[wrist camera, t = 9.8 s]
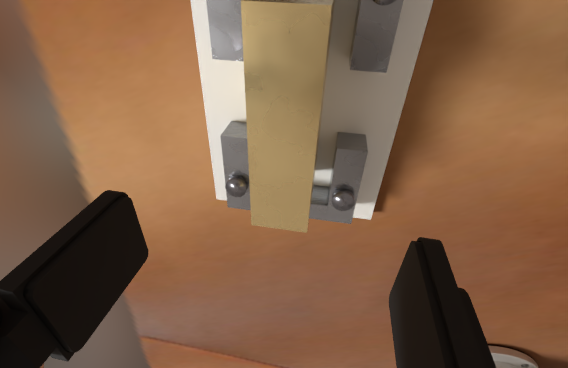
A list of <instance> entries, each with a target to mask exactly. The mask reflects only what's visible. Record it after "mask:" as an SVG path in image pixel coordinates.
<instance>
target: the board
mask: <svg viewBox="0 0 568 368" xmlns="http://www.w3.org/2000/svg"><path fill="white" fill-rule="evenodd" d="M432 4H433V0H404V1H403V5H402V9H401V13H400V18H399V22H398V26H397V30H396V35H395V39H394V43H393V47H392V52H391V56H390V60H389V65H388V69H387V73H381V72H368V71H356V70H350V65H349V57H350V50H351V44H352V38H353V31H354V25H355V19H356V12H357V6H358V0H335V4H334V13H333V21H332V30H331V39H330V48H329V57H328V65H327V74H326V83H325V92H324V101H323V109H322V118H321V127H320V136H319V144H318V153H317V162H316V171H315V178H314V185H320V186H328V187H329V184H330V178H331V172H332V165H333V159H334V152H335V146H336V140H337V133H338V132H346V133H355V134H365V135H366V140H367V148H368V154H367V158H366V163H365V167H364V171H363V175H362V180H361V184H360V188H359V192H358V197H357V201H356V205H355V209H354V214H353V217H354V218H362V219H369V220H371V217H372V214H373V210H374V207H375V203H376V200H377V196H378V193H379V189H380V186H381V182H382V179H383V175H384V172H385V168H386V165H387V161H388V158H389V154H390V151H391V147H392V144H393V140H394V137H395V133H396V130H397V126H398V123H399V119H400V116H401V112H402V109H403V105H404V102H405V98H406V95H407V91H408V88H409V84H410V81H411V77H412V74H413V70H414V67H415V63H416V60H417V56H418V53H419V49H420V46H421V42H422V39H423V35H424V32H425V28H426V25H427V21H428V18H429V14H430V11H431V7H432ZM191 7H192V15H193V23H194V30H195V38H196V45H197V53H198V61H199V68H200V76H201V84H202V91H203V99H204V106H205V114H206V122H207V129H208V137H209V145H210V152H211V160H212V167H213V175H214V183H215V190H216V198H217V199H220V200H227V195H226V189H225V175H224V166H223V156H222V147H221V137H220V135H221V134H222V133H223V131H224V130H225V129H226V127H227V126H228V125H229V123H230V122H231V121H239V122H246V101H245V80H244V62H243V61H230V60H218V59H212V51H211V41H210V32H209V22H208V13H207V3H206V0H191Z"/></svg>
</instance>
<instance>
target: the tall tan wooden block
mask: <svg viewBox="0 0 568 368" xmlns="http://www.w3.org/2000/svg"><path fill="white" fill-rule="evenodd" d="M334 4H335V0H241V17H242V38H243V59H244V80H245V101H246V122H247V142H248V163H249V184H250V205H251V225H256V226H263V227H270V228H277V229H284V230H292V231H299V232H306V233H307V229H308V221H309V214H310V207H311V200H312V192H313V185H314V178H315V171H316V162H317V153H318V144H319V136H320V127H321V118H322V109H323V101H324V92H325V83H326V74H327V65H328V57H329V48H330V39H331V30H332V21H333V13H334Z"/></svg>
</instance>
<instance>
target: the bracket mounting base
mask: <svg viewBox="0 0 568 368" xmlns="http://www.w3.org/2000/svg"><path fill="white" fill-rule="evenodd" d="M403 1H404V0H358V6H357V12H356V19H355V25H354V31H353V38H352V44H351V50H350V57H349V65H350V70H356V71H368V72H381V73H387V69H388V65H389V60H390V56H391V52H392V47H393V43H394V39H395V35H396V30H397V26H398V22H399V18H400V13H401V9H402V5H403ZM206 3H207V13H208V22H209V32H210V41H211V51H212V59H218V60H230V61H243V62H244V59H243V38H242V17H241V0H206ZM220 137H221V147H222V156H223V166H224V175H225V189H226V195H227V204H228V207H231V208H238V209H245V210H251V205H250V184H249V163H248V142H247V122H239V121H231V122H230V123H229V125H228V126H227V127H226V129H225V130H224V131H223V133H222V134H221V135H220ZM367 154H368V148H367V140H366V135H365V134H355V133H346V132H338V133H337V140H336V146H335V152H334V159H333V165H332V172H331V178H330V184H329V187H328V186H320V185H313V192H312V200H311V207H310V214H309V218H312V219H319V220H326V221H334V222H341V223H348V224H351V222H352V218H353V214H354V209H355V205H356V201H357V197H358V192H359V188H360V184H361V180H362V175H363V171H364V167H365V163H366V158H367Z"/></svg>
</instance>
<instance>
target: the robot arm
mask: <svg viewBox="0 0 568 368" xmlns="http://www.w3.org/2000/svg"><path fill="white" fill-rule="evenodd" d="M147 257H148V248H147V245H146V242H145V239H144V236H143V233H142V230H141V227H140V224H139V221H138V218H137V215H136V212H135V208H134V205H133V202H132V200H131V198H129V197H128V195H127V194H126V193H124V192H118V191H111V190H107V191H105V192H103V193H102V194H101V195H100V196H99V197H97V198H96V199H95V200H94V201H93V202H92V203H90V204H89V205H88V206H87V207H86V208H85V209H83V210H82V211H81V212H80V213H79V214H78V215H77V216H75V217H74V218H73V219H72V220H71V221H70V222H68V223H67V224H66V225H65V226H64V227H63V228H61V229H60V230H59V231H58V232H57V233H56V234H54V235H53V236H52V237H51V238H50V239H49V240H47V241H46V242H45V243H44V244H43V245H42V246H40V247H39V248H38V249H37V250H36V251H35V252H33V253H32V254H31V255H30V256H29V257H28V258H26V259H25V260H24V261H23V262H22V263H21V264H20V265H18V266H17V267H16V268H15V269H14V270H12V271H11V272H10V273H9V274H8V275H7V276H5V277H4V278H3V279H2V280H1V281H0V368H43V367H44V362H45V361H46V360H47V358H48V357H49V356H51V357H52V358H55V359H59V360H64V361H69V360H70V358H71V357H72V356H73V354H74V353H75V352H77V351H79V350H80V349H81V348H82V347H83V346H84V345H85V343H86V342H87V341H88V339H89V338H90V336H91V335H92V334H93V332H94V331H95V330H96V328H97V327H98V325H99V324H100V323H101V321H102V320H103V319H104V317H105V316H106V315H107V313H108V312H109V311H110V309H111V308H112V306H113V305H114V304H115V302H116V301H117V300H118V298H119V297H120V295H121V294H122V293H123V291H124V290H125V289H126V287H127V286H128V284H129V283H130V282H131V280H132V279H133V278H134V276H135V275H136V273H137V272H138V271H139V269H140V268H141V267H142V265H143V264H144V263H145V261H146V259H147ZM389 308H390V316H391V324H392V333H393V341H394V349H395V357H396V365H397V368H539V367H538V365H537V363H536V362H535V361H534V360H533V359H532V358H531V357H529V356H528V355H526V354H524V353H521V352H519V351H516V350H513V349H509V348H505V347H499V346H488V344H487V341H486V339H485V336H484V334H483V331H482V328H481V326H480V323H479V320H478V318H477V315H476V313H475V310H474V307H473V305H472V302H471V299H470V297H469V295H468V293H467V292H466V291H465V290H464V289H462V288H458V287H457V284H456V281H455V278H454V275H453V273H452V270H451V267H450V264H449V261H448V258H447V256H446V253H445V250H444V247H443V244H442V242H441V241H440V240H435V239H429V238H422V237H419V238H418V240H417V241H411V243H410V245H409V248H408V250H407V252H406V255H405V257H404V260H403V262H402V265H401V267H400V270H399V272H398V275H397V277H396V280H395V282H394V285H393V287H392V290H391V292H390V296H389Z"/></svg>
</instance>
